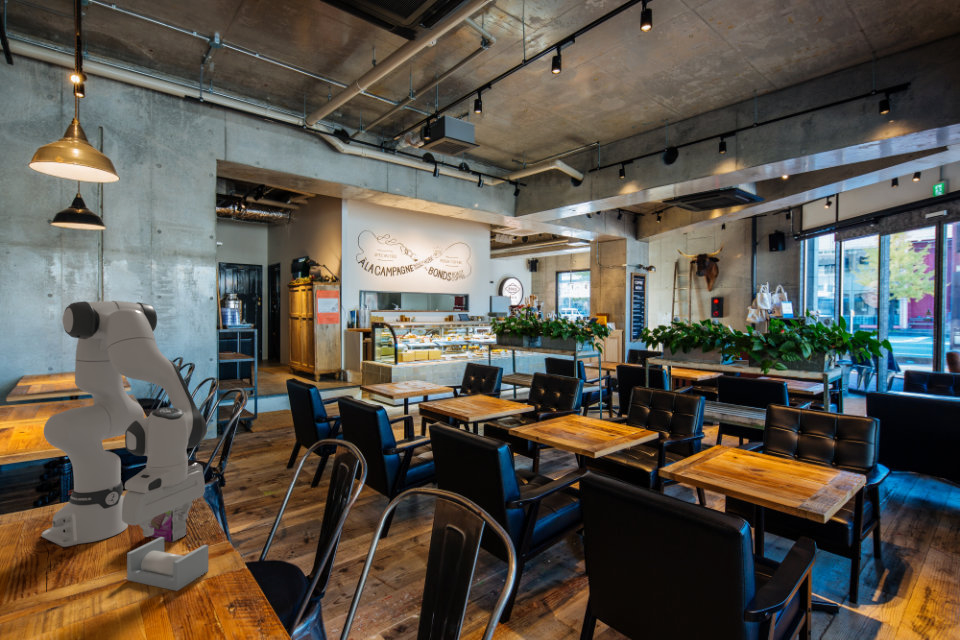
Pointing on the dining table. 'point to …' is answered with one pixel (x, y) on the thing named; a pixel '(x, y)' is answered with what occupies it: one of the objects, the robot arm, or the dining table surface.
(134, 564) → the holder
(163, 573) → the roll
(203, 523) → the dining table surface
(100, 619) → the dining table surface
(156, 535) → the candy bar box
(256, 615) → the dining table surface
